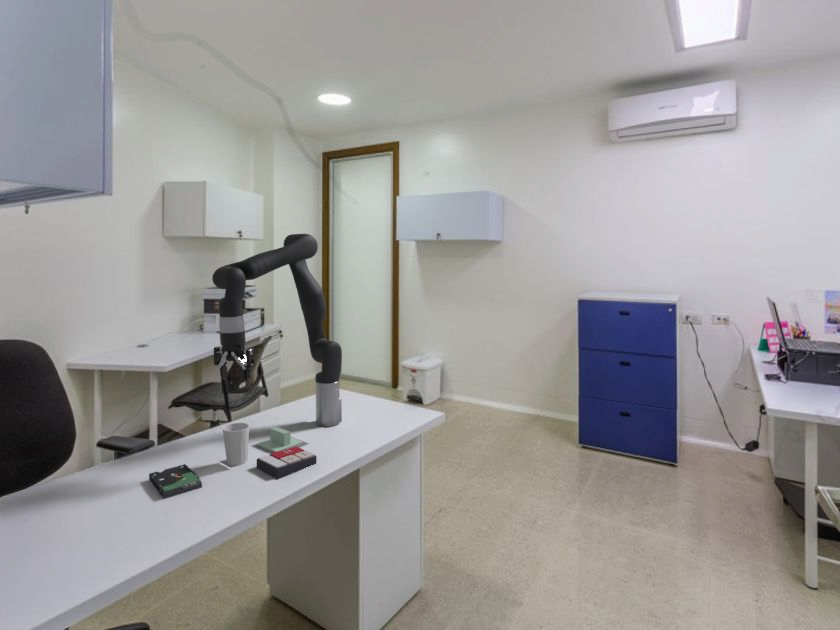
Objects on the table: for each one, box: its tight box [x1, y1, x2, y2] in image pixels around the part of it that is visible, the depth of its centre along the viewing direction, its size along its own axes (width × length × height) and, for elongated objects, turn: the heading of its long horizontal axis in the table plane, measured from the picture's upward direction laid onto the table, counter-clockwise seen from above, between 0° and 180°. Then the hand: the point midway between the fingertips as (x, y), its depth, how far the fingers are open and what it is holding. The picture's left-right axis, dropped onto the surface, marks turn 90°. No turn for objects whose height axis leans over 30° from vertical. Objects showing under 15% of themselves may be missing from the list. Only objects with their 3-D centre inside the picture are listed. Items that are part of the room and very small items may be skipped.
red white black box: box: [256, 447, 317, 481], centre depth 152 cm, size 11×4×15 cm
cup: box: [222, 422, 250, 468], centre depth 154 cm, size 8×8×12 cm
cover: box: [256, 426, 303, 453], centre depth 168 cm, size 11×11×5 cm
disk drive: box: [148, 463, 203, 500], centre depth 140 cm, size 10×3×15 cm
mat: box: [251, 435, 310, 455], centre depth 168 cm, size 14×14×1 cm
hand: (235, 379), depth 156 cm, fingers open, 8 cm apart
